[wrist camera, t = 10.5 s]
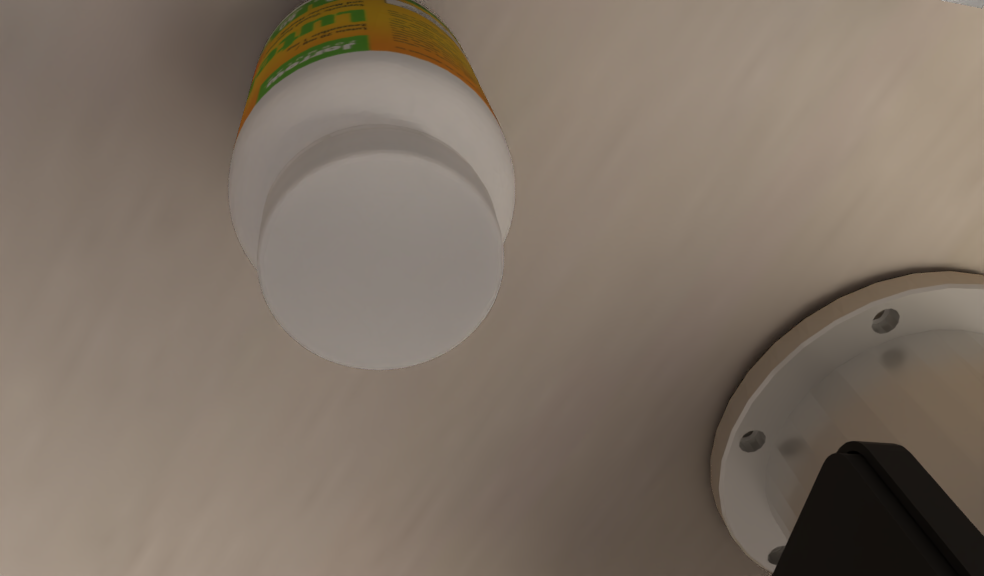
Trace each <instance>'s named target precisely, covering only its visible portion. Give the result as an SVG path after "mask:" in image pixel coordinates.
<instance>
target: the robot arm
mask: <svg viewBox="0 0 984 576" xmlns="http://www.w3.org/2000/svg"><path fill="white" fill-rule="evenodd" d="M710 464H711V488H712V492H713V495H714V499H715V503H716V506H717V510H718V512H719V514H720V515H721V517H722V519H723V521H724V523H725V525H726V527H727V529H728V531H729V533H730V535H731V536H732V538H733V539H734V541H735V542H736V543H737V544H738V545H739V547H740V548H741V549H742V550H743V552H744V553H745V554H746V555H747V556H748V557H749V558H750V559H751V560H753V561H754V562H755V563H757V564H758V565H759V566H760V567H762V568H763V569H765V570H767V571H769V572H771V573H773V574H772V576H984V275H978V274H970V273H962V272H954V271H943V272H929V273H914V274H910V275H906V276H902V277H898V278H894V279H889V280H885V281H881V282H877V283H875V284H872V285H870V286H867V287H865V288H862V289H860V290H858V291H855V292H853V293H850V294H848V295H845V296H843V297H841V298H839V299H837V300H835V301H834V302H832V303H830V304H829V305H827V306H825V307H824V308H822V309H820V310H818V311H817V312H815V313H813V314H812V315H810V316H808V317H807V318H805V319H804V320H803V321H801V322H800V323H799V324H798V325H796V326H795V327H794V328H793V329H791V330H790V331H789V332H788V333H787V334H785V335H784V336H783V337H782V338H780V339H779V340H778V341H777V342H775V343H774V344H773V345H772V347H771V348H770V349H769V350H768V351H767V352H766V353H765V354H764V355H763V356H762V357H761V358H760V360H759V361H758V362H757V363H756V364H755V365H754V366H753V367H752V368H751V369H750V370H749V372H748V373H747V375H746V376H745V378H744V379H743V381H742V382H741V384H740V385H739V387H738V388H737V390H736V391H735V393H734V394H733V396H732V397H731V399H730V400H729V403H728V405H727V407H726V410H725V412H724V414H723V417H722V419H721V421H720V423H719V426H718V428H717V431H716V435H715V440H714V445H713V449H712V454H711V459H710Z"/></svg>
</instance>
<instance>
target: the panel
mask: <svg viewBox="0 0 984 576" xmlns="http://www.w3.org/2000/svg"><path fill="white" fill-rule="evenodd" d="M943 1H948V2H953V3H958V4H962V5H967V6H972V7H977V8H983V6H984V0H943Z"/></svg>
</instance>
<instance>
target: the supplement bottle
mask: <svg viewBox="0 0 984 576" xmlns="http://www.w3.org/2000/svg"><path fill="white" fill-rule="evenodd" d="M228 198H229V207H230V214H231V219H232V223H233V226H234V230H235V232H236V235H237V238H238V240H239V243H240V245H241V247H242V249H243V251H244V252H245V254H246V256H247V257H248V259H249V260H250V262H251V264H252V265H253V266H254V268H255V269H256V270H257V271H258V279H259V283H260V286H261V290H262V293H263V296H264V299H265V302H266V303H267V305H268V307H269V309H270V311H271V313H272V315H273V316H274V318H275V319H276V320H277V322H278V323H279V324H280V325H281V327H282V328H283V329H284V330H285V331H286V332H287V333H288V334H289V335H290V336H291V337H292V338H293V339H294V340H295V341H297V342H298V343H299V344H300V345H302V346H303V347H304V348H306V349H307V350H309V351H311V352H312V353H314V354H316V355H318V356H320V357H322V358H324V359H326V360H329V361H331V362H334V363H337V364H340V365H344V366H348V367H353V368H358V369H369V370H392V369H400V368H406V367H411V366H415V365H418V364H421V363H424V362H427V361H430V360H432V359H434V358H437V357H439V356H441V355H443V354H445V353H446V352H448V351H450V350H451V349H453V348H454V347H456V346H457V345H459V344H460V343H461V342H462V341H464V340H465V339H466V338H468V337H469V336H470V334H471V333H472V332H473V331H474V330H475V329H476V328H477V327H478V326H479V325H480V324H481V322H482V321H483V320H484V318H485V317H486V316H487V314H488V313H489V311H490V309H491V308H492V306H493V304H494V302H495V300H496V297H497V294H498V291H499V288H500V285H501V281H502V277H503V271H504V245H503V244H504V242H505V240H506V237H507V234H508V231H509V229H510V226H511V222H512V217H513V212H514V205H515V175H514V168H513V163H512V159H511V155H510V151H509V148H508V145H507V142H506V139H505V137H504V134H503V132H502V130H501V127H500V125H499V123H498V121H497V118H496V117H495V115H494V113H493V111H492V109H491V107H490V105H489V103H488V101H487V99H486V96H485V95H484V93H483V91H482V89H481V87H480V84H479V82H478V80H477V78H476V76H475V74H474V72H473V70H472V68H471V66H470V64H469V62H468V59H467V57H466V55H465V53H464V52H463V50H462V48H461V46H460V44H459V43H458V41H457V40H456V38H455V37H454V35H453V34H452V33H451V31H450V30H449V29H448V27H447V26H446V25H445V24H444V23H443V22H442V21H441V20H440V19H439V18H438V17H437V16H436V15H435V14H434V13H433V12H432V11H430V10H429V9H428V8H426V7H425V6H423V5H422V4H420V3H418V2H417V1H415V0H308V1H306V2H305V3H303V4H301V5H300V6H298V7H297V8H295V9H294V10H293V11H292V12H291V13H290V14H289V15H287V16H286V17H285V18H284V19H283V20H282V21H281V23H280V24H279V25H278V26H277V27H276V29H275V30H274V31H273V33H272V34H271V36H270V37H269V39H268V41H267V42H266V45H265V47H264V49H263V51H262V53H261V55H260V57H259V60H258V63H257V67H256V70H255V73H254V76H253V80H252V84H251V87H250V91H249V95H248V98H247V102H246V106H245V109H244V112H243V116H242V120H241V123H240V127H239V131H238V134H237V138H236V141H235V145H234V149H233V153H232V158H231V164H230V171H229V180H228Z"/></svg>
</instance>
